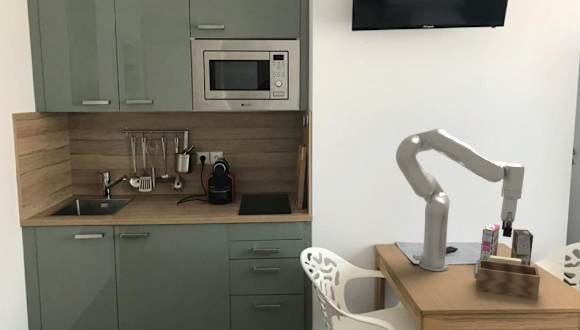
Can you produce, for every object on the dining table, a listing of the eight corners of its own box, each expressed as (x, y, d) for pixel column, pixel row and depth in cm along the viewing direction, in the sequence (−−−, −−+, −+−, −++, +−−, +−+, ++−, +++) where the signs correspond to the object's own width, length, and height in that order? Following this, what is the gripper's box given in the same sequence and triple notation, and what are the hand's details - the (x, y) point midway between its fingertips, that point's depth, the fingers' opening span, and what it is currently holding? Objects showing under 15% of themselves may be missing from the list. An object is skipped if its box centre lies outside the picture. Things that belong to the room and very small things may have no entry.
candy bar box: (490, 266, 224) (493, 230, 221) (479, 263, 227) (482, 228, 224) (497, 258, 233) (500, 224, 230) (486, 256, 236) (488, 222, 233)
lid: (475, 277, 211) (476, 259, 210) (475, 267, 223) (476, 250, 221) (535, 286, 204) (537, 267, 202) (532, 275, 215) (534, 257, 213)
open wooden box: (476, 290, 198) (477, 268, 197) (476, 279, 209) (478, 259, 207) (537, 299, 191) (540, 277, 189) (534, 288, 201) (537, 266, 199)
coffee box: (530, 271, 218) (533, 235, 216) (514, 270, 220) (517, 234, 217) (525, 263, 227) (528, 229, 224) (509, 262, 229) (513, 228, 226)
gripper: (500, 188, 216) (496, 226, 219) (502, 197, 200) (497, 238, 203) (519, 190, 213) (514, 228, 217) (522, 199, 197) (517, 240, 201)
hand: (506, 233), depth 210 cm, fingers open, 9 cm apart
